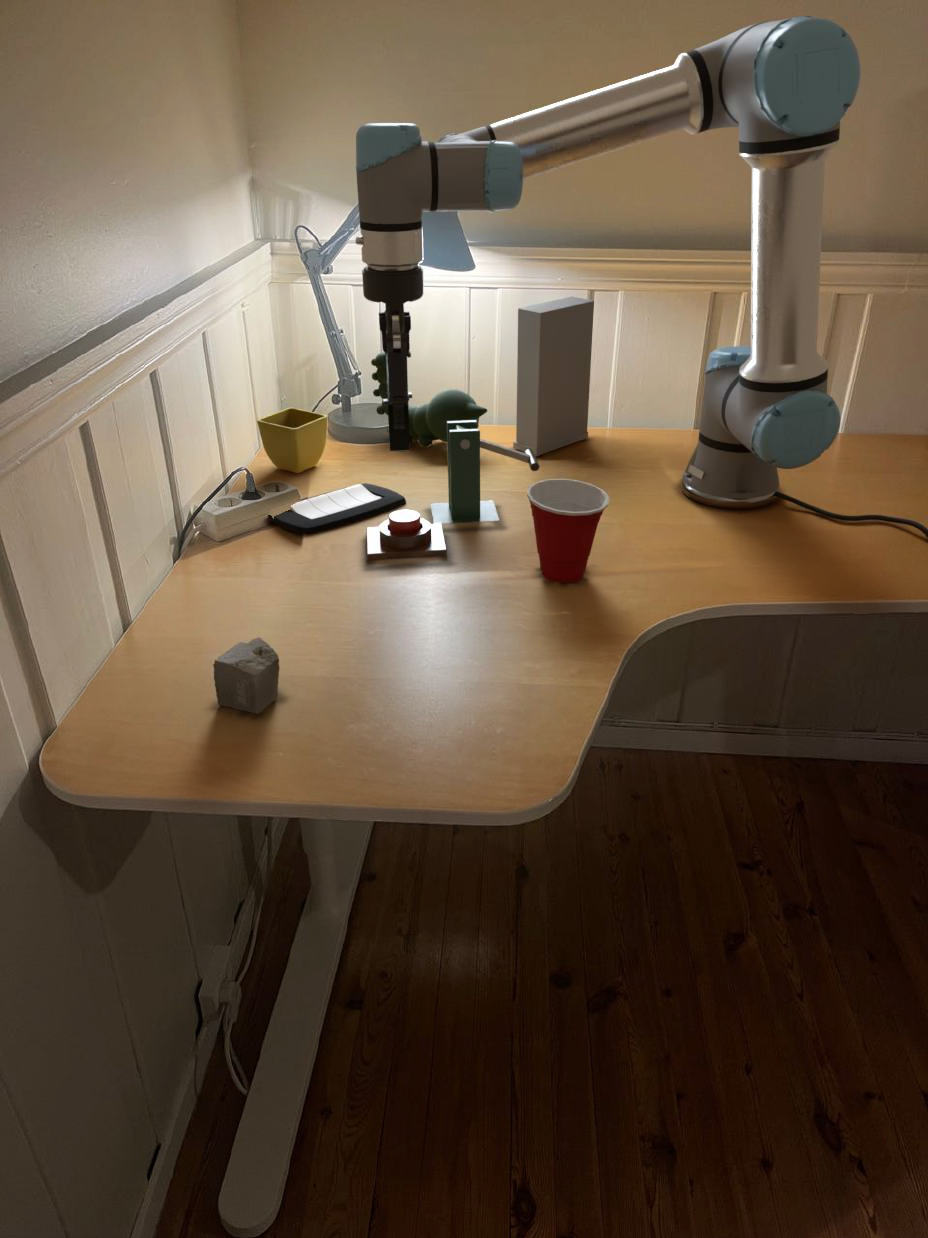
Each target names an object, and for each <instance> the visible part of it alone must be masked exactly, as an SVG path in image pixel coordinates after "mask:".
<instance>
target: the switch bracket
mask: <svg viewBox="0 0 928 1238" xmlns="http://www.w3.org/2000/svg"><path fill="white" fill-rule="evenodd" d="M456 425H458V426H461V427H464V428H467V429H460V430H455V428H456ZM480 439H481V430H480V428H478V429H477V421H476V420H464V421H447V442H446V445H447V449H446V451H447V490H448V493H447V494H448V502H432V503H431V502H430V504H429V505H430V510H431V517H432V522H433V524H440V523H441V524H442V525H445V524H447V525H448V524H465V523H483V522H484V523H485V522H486V523H487V522H500V520H501V519H500V517H499V513H498V510H497V507H496V505H495V501H494V500H493V499H489V500H481V448H480Z"/></svg>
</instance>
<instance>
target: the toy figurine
mask: <svg viewBox="0 0 928 1238" xmlns="http://www.w3.org/2000/svg"><path fill="white" fill-rule="evenodd" d="M411 357H412V353H411V351H410V350H409V351H408V352H407V359H409V358H411ZM370 363H371V364H370V365H372V366H373V367H375V368H376V371H375V372H373V373H372V374H371V379H372V380H373V381H375V382H376V381H377V383H379V385H378V388H375V389H374V390H373V391H372V394H373V396H374V397H380V398H381V405H378V406H376V413H377V414H378V415H381V416H382V415H386V416H388V405H383V399H388V396H387V392H388V389H387V387H386V384H387V365H386V353H385V352H384V351H383V352H379V353H378V354H377V355H376V356H375V358H372V359H371V362H370ZM408 407H409V436H410V445H411V444H413V442H414V441H417V443H418V445H419V446H420V447H423V448H428V447H430V446H431V445H432V444H433V441H438V440H440V441H442V442H444V443H447V421H464V420H476V421H477V429H479V425H480V424H479V423H480V417H482V416H483V415H485V414H486V413H487V412H488V409H487V408H486V407H484V406H480V405H477V402H476V400H475V399H474V398H473V397H472V396H471V395H470V394H469V393H467V392H465V390H461V389H457V388H449V389H445V390H441V391H440V392H438V393H437V394H435V395H434V396H433V398H431V400H430V401H429V402H427V403H423V404H422V405H420V406H418V405H411V404H409V403H408Z"/></svg>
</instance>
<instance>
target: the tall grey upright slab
mask: <svg viewBox="0 0 928 1238" xmlns="http://www.w3.org/2000/svg"><path fill="white" fill-rule="evenodd" d="M594 311H595V300H593V299H592V300H591V299H587V298H583V297H582V298H581V297H575V296H569V297H564V298H559V299H554V300H551V301H546V302H541V303H536V304H532V305H527V306H522V307H518V308H517V362H516V363H517V365H516V366H517V367H516V430H515V431H516V432H515V433H516V437H515V438H516V439H515V441H513V442H512V443H513V444H512V447H513V448H512V449H514V450H516V451H520V452H523V453H525V451H526V450H527V449H531V450H532V451H533V453H534V455H535V457H539V456H540V455H544V454H546V453H549V452H552V451H554V450H557V449H560V448H563V447H565V446H569V445H571V444H574V443H577V442H580V441H585V439H589V431H588V423H589V406H590V386H591V385H590V384H591V370H592V369H591V366H592V350H593V349H592V347H593V331H594V330H593V329H594Z"/></svg>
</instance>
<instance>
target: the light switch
mask: <svg viewBox="0 0 928 1238" xmlns="http://www.w3.org/2000/svg"><path fill="white" fill-rule="evenodd" d="M406 504H407V500H406V497H405V496H404V495H402V494H400V493H398V492H396V491H394V490H392V489H389V488H387V487H383V486H380V485H376V484H373V483H372V484H371V483H366V482H365V483H358V484H354V485H351V486H347V487H342V488H339V489H335V490H331V491H327V492H324V493H321V494H317V495H314V496H310V497H308V496H307V497H304V498H301V501H299V502H296V503H295V504H293V505H291V506H290V510H288V511H285V512H283V513H281V514H279V515H276V516H274V519H273V518H272V516H271V515H268V514H267V518H268V519H269V520H270V521H271V522H272V523H274V524H275V525H277V526H278V527H280V528H282V529H284V530H285V529H286V530H288V531H290V532H293V533H297V534H301V535H306V536H309V535H314V534H318V533H321V532H322V533H323V532H325V531H326V532H327V531H330V530H332V529H336V528H341V527H343V526H347V525H351V524H353V523H356V522H360V521H363V520H367V519H370V518H373V517H375V516H378V515H380V514H383V513H386V512H389V511H392V510H395V509H398V508H400V507H402V506H405V505H406Z"/></svg>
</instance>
